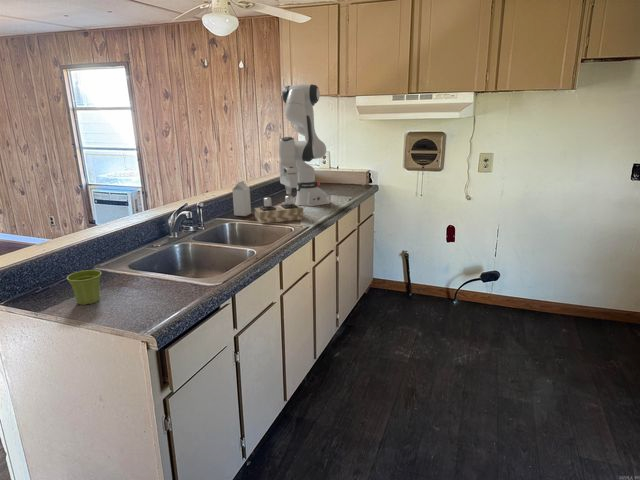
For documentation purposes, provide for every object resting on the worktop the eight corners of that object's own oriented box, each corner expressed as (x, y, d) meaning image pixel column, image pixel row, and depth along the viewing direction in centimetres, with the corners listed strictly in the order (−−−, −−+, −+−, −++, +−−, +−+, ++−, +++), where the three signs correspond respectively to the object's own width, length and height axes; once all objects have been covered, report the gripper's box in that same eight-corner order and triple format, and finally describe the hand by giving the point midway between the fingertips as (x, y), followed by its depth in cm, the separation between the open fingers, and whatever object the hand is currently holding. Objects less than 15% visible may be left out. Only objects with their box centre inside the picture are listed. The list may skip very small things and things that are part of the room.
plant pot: (88, 293, 142) (83, 268, 139) (112, 296, 139) (108, 271, 137) (64, 305, 133) (59, 278, 131) (89, 309, 131) (84, 282, 128)
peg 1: (270, 209, 238) (270, 197, 236) (272, 210, 234) (272, 198, 232) (263, 210, 236) (262, 197, 235) (265, 211, 233) (264, 199, 231)
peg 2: (291, 207, 242) (291, 195, 240) (293, 208, 239) (293, 196, 237) (284, 208, 241) (284, 196, 239) (286, 209, 237) (286, 197, 235)
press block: (296, 214, 249) (296, 202, 247) (303, 219, 238) (303, 206, 236) (255, 218, 240) (254, 206, 238) (260, 223, 229) (259, 210, 227)
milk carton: (251, 213, 252) (249, 180, 247) (245, 216, 246) (243, 182, 241) (240, 213, 255) (238, 180, 249) (234, 215, 248) (231, 182, 243)
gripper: (276, 166, 242) (277, 191, 245) (288, 170, 223) (288, 197, 227) (287, 166, 244) (288, 190, 248) (299, 170, 226) (300, 196, 229)
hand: (288, 194), depth 237 cm, fingers closed
